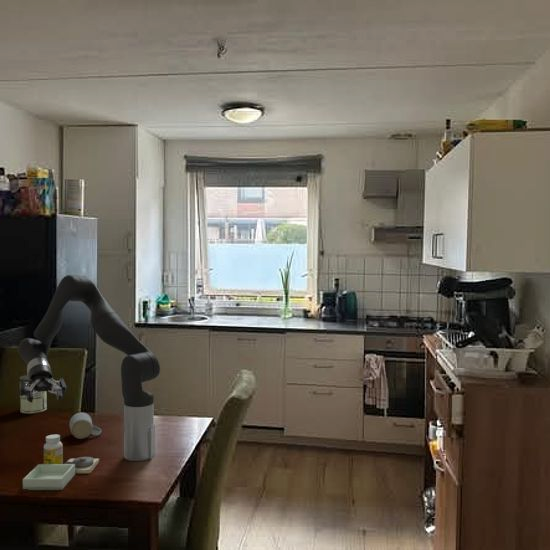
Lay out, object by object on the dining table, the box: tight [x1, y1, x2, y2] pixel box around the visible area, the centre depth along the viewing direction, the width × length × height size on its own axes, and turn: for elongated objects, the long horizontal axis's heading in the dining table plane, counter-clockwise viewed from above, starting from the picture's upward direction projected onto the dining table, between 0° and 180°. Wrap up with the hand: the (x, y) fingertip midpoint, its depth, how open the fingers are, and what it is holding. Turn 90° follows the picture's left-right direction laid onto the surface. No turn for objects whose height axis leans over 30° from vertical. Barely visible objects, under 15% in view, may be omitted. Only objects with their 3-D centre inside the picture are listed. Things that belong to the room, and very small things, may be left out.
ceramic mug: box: [69, 412, 102, 440], centre depth 194 cm, size 11×8×8 cm
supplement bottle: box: [43, 434, 64, 464], centre depth 165 cm, size 5×5×10 cm
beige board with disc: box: [64, 456, 100, 474], centre depth 166 cm, size 9×9×3 cm
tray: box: [22, 463, 76, 491], centre depth 155 cm, size 11×11×3 cm
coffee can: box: [19, 374, 48, 414], centre depth 225 cm, size 10×10×14 cm
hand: (45, 399), depth 177 cm, fingers open, 8 cm apart
